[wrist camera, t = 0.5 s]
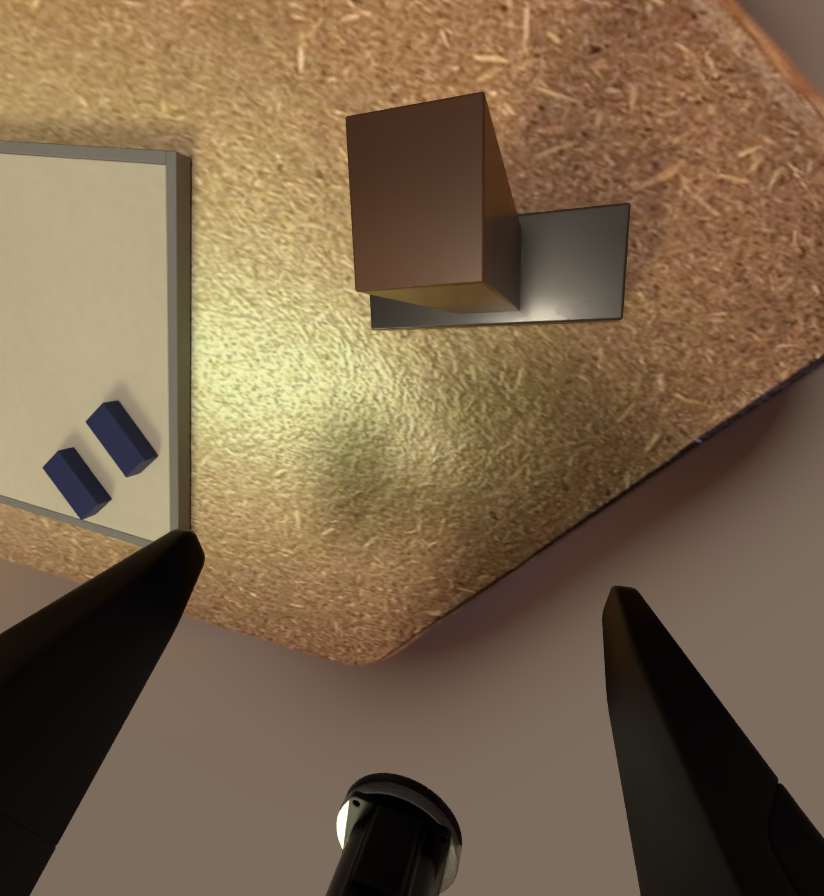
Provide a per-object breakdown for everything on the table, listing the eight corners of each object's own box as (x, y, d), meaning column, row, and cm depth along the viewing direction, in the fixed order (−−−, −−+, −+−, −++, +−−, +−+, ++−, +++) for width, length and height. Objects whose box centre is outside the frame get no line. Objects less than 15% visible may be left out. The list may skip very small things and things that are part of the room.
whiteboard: (190, 550, 29) (178, 557, 28) (-39, 481, 34) (-56, 485, 33) (190, 158, 23) (175, 150, 22) (-89, 140, 28) (-111, 133, 27)
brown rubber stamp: (614, 321, 19) (722, 300, 7) (389, 330, 22) (197, 325, 10) (621, 218, 19) (756, -2, 6) (385, 241, 21) (169, 118, 9)
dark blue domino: (159, 456, 27) (145, 460, 26) (140, 473, 27) (125, 478, 26) (118, 399, 27) (102, 401, 26) (100, 418, 27) (84, 421, 26)
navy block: (112, 499, 29) (97, 504, 28) (95, 514, 29) (80, 520, 28) (73, 446, 28) (57, 450, 27) (58, 463, 29) (41, 467, 28)
